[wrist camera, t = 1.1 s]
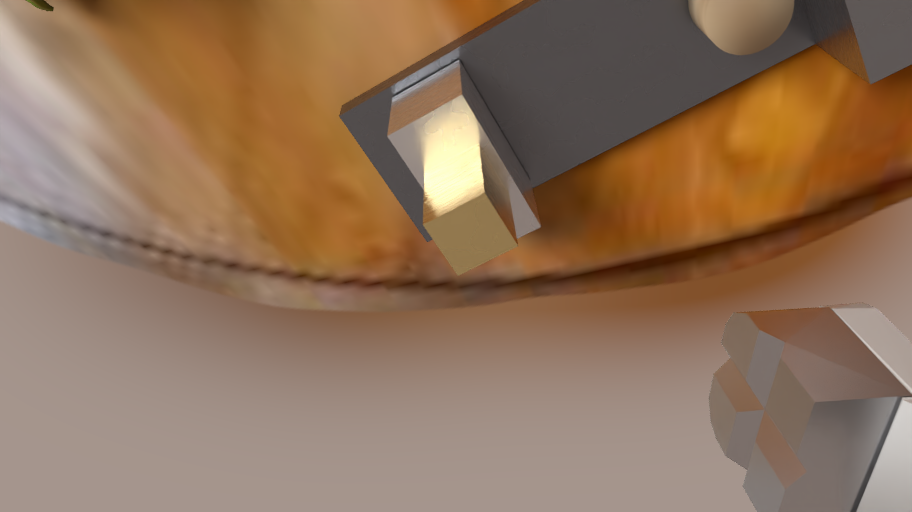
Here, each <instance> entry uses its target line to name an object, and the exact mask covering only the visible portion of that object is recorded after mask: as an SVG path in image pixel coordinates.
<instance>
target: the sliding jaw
mask: <svg viewBox="0 0 912 512" xmlns="http://www.w3.org/2000/svg"><path fill="white" fill-rule="evenodd" d="M387 137H388V138H389V140H390V141H391V143H392V144H393V145H394V147H395V148H396V150H397V151H398V153H399V154H400V156H401V157H402V159H403V160H404V162H405V163H406V165H407V166H408V168H409V169H410V171H411V172H412V174H413V175H414V177H415V178H416V180H417V181H418V183H419V184H420V186H421V187H422V189H423V190H424V201H423V226H424V227H425V229H426V230H427V232H428V233H429V235H430V236H431V237H432V239H433V240H434V242H435V243H436V245H437V246H438V248H439V249H440V250H441V252H442V253H443V255H444V256H445V258H446V259H447V261H448V262H449V263H450V265H451V266H452V268H453V269H454V271H455V272H456V274H457V275H458V276H459V275H461V274H463V273H465V272H467V271H469V270H471V269H473V268H475V267H477V266H479V265H481V264H483V263H485V262H487V261H489V260H491V259H493V258H495V257H497V256H499V255H501V254H503V253H505V252H507V251H509V250H511V249H513V248H515V247H517V246H518V242H517V239H518V238H520V237H522V236H524V235H526V234H528V233H530V232H532V231H534V230H536V229H538V228H540V227H541V223H540V219H539V214H538V210H537V206H536V201H535V197H534V193H533V188H532V184H531V181H530V179H529V178H528V176H527V174H526V172H525V171H524V169H523V167H522V166H521V164H520V162H519V161H518V159H517V157H516V155H515V154H514V152H513V150H512V149H511V147H510V145H509V143H508V142H507V140H506V138H505V137H504V135H503V133H502V132H501V130H500V128H499V126H498V125H497V123H496V121H495V120H494V118H493V116H492V115H491V113H490V111H489V109H488V108H487V106H486V104H485V103H484V101H483V99H482V97H481V96H480V94H479V92H478V91H477V89H476V87H475V86H474V84H473V82H472V80H471V79H470V77H469V75H468V74H467V72H466V70H465V69H464V67H463V65H462V63H461V62H460V60H457V61H456V62H454V63H452V64H450V65H449V66H447V67H445V68H443V69H442V70H440V71H438V72H436V73H435V74H433V75H431V76H429V77H428V78H426V79H424V80H422V81H421V82H419V83H417V84H415V85H414V86H412V87H410V88H408V89H407V90H405V91H403V92H401V93H400V94H398V95H396V96H394V97H393V98H392V104H391V111H390V119H389V127H388V134H387Z"/></svg>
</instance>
